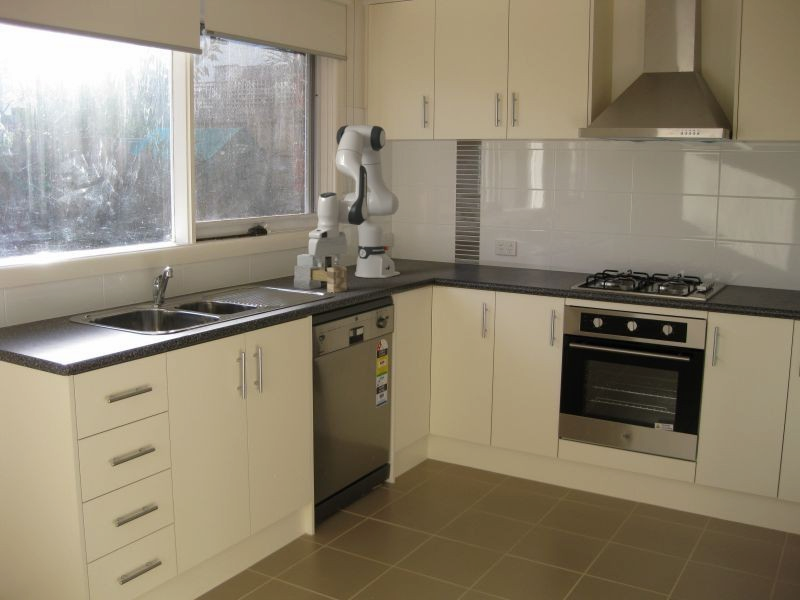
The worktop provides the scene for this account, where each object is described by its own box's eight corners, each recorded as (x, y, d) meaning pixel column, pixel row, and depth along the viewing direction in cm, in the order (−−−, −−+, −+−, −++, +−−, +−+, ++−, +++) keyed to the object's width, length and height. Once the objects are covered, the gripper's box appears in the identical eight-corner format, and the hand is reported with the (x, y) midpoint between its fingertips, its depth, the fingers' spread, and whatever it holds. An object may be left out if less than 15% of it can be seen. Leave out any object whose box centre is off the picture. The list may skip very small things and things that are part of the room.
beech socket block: (340, 289, 362) (340, 265, 361) (346, 290, 360) (346, 266, 359) (327, 291, 356) (327, 267, 355) (333, 292, 354) (333, 268, 353)
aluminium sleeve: (305, 285, 374) (305, 264, 372) (320, 287, 368) (320, 266, 367) (294, 287, 368) (293, 266, 367) (309, 289, 363) (309, 267, 362)
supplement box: (313, 284, 376) (313, 255, 374) (296, 284, 378) (296, 255, 376) (318, 282, 383) (318, 254, 381) (302, 281, 385) (301, 253, 383)
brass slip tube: (314, 278, 368) (313, 254, 367) (341, 281, 359) (341, 257, 357) (307, 278, 365) (307, 255, 363) (335, 282, 356) (334, 258, 354)
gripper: (339, 230, 367) (339, 263, 369) (305, 233, 351) (306, 267, 354) (350, 231, 363) (350, 264, 366) (317, 234, 347) (317, 268, 350)
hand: (328, 266), depth 359 cm, fingers open, 8 cm apart
